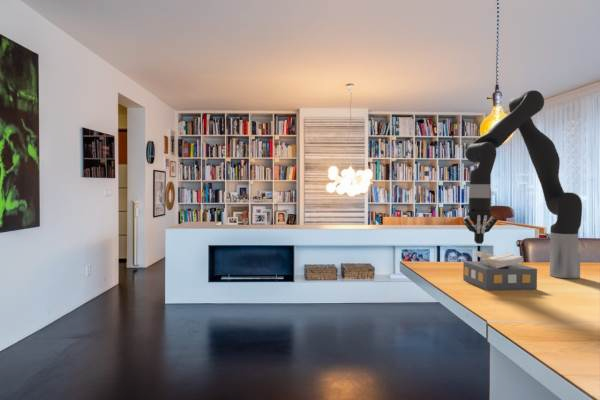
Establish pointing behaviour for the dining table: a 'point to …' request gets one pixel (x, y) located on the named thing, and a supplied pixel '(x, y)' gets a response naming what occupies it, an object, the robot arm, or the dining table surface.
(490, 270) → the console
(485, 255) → the white rectangular block
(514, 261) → the rocker
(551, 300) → the dining table surface
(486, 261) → the rocker
